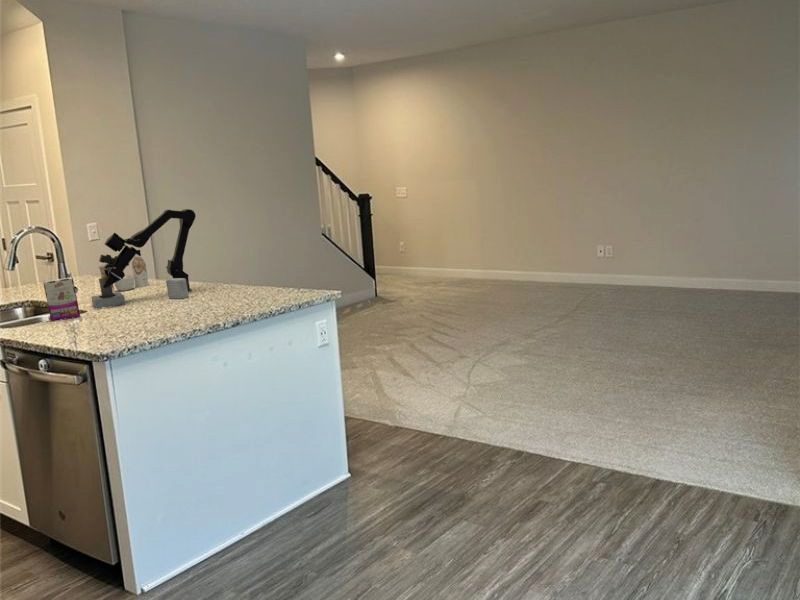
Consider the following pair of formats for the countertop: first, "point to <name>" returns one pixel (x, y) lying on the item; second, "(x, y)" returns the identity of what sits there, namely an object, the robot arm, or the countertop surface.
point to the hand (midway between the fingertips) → (102, 286)
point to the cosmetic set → (128, 281)
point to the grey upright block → (105, 291)
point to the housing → (108, 300)
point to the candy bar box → (61, 298)
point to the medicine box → (177, 288)
